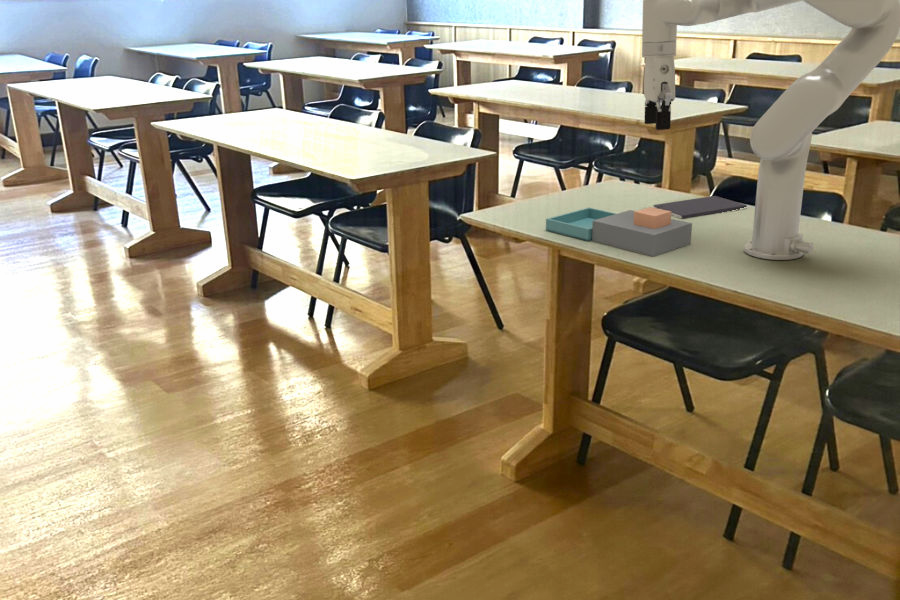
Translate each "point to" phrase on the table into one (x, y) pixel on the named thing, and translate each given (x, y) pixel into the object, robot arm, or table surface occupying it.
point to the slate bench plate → (640, 234)
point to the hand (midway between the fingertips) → (657, 126)
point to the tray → (576, 223)
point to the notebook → (700, 207)
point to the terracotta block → (652, 217)
